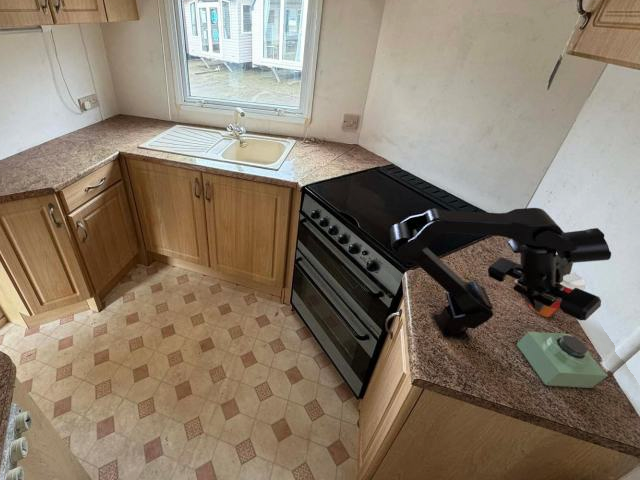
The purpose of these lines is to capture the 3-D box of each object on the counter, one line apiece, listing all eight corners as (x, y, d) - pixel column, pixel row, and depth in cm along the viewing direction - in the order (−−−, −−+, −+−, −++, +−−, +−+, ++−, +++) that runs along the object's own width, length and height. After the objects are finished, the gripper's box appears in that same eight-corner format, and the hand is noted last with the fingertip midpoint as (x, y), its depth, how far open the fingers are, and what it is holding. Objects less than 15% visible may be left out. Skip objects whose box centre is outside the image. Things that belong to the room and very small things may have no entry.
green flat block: (545, 385, 72) (565, 368, 68) (516, 344, 80) (531, 327, 76) (591, 388, 72) (613, 371, 68) (557, 346, 80) (575, 329, 76)
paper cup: (541, 298, 94) (569, 265, 86) (563, 320, 88) (596, 287, 80) (517, 297, 94) (543, 264, 86) (537, 320, 87) (568, 286, 80)
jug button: (568, 357, 70) (573, 352, 69) (552, 339, 74) (557, 334, 73) (586, 358, 70) (592, 353, 69) (570, 340, 74) (576, 335, 73)
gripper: (620, 261, 61) (613, 314, 67) (514, 227, 77) (516, 272, 84) (585, 293, 58) (581, 345, 65) (484, 250, 75) (488, 295, 81)
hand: (538, 310), depth 73 cm, fingers closed
